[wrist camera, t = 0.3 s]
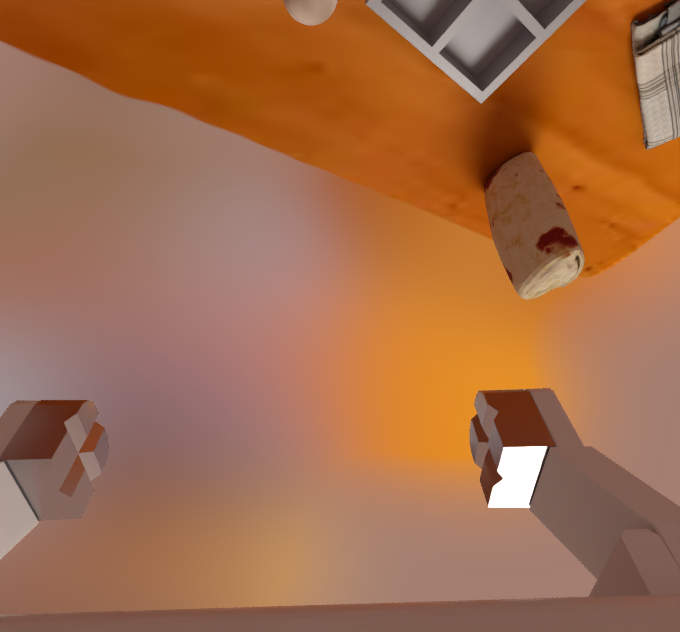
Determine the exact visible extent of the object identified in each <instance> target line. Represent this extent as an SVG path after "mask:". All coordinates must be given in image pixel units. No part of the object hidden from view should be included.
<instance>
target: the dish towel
mask: <svg viewBox="0 0 680 632" xmlns="http://www.w3.org/2000/svg"><path fill="white" fill-rule="evenodd" d="M664 7H668V9H667V10H665V11H662V12H661V13H659V14H656V15H654V16H652V15H653V14H650V15H649V16H648V17H650V16H652V17H650V18H649V19H647V20H645V21H644V22H642V23H640V24H639V22H638V20H636V21H634V22H632V23H631V32H632V47H633V54H634V61H635V69H636V76H637V83H638V88H639V94H640V107H641V114H642V117H641V118H642V124H643V131H644V134H643V135H644V140H643V141H644V144H645V148H646V149H651V148H654V147H656V146H659V145H661V144H663V143H666V142H668V141H670V140H673V139H675V138H678V137H680V0H672V1H670V2H668V3H667V4H665V5H664Z"/></svg>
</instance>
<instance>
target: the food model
mask: <svg viewBox="0 0 680 632" xmlns="http://www.w3.org/2000/svg"><path fill="white" fill-rule="evenodd" d="M484 193H485V203H486V208H487V213H488V218H489V223H490V228H491V232H492V236H493V240H494V243H495V246H496V249H497V251H498V254H499V256H500V259H501V261H502V263H503V265H504V267H505V269H506V272H507V274H508V276H509V278H510V280H511V282H512V284H513V286H514V288H515V290H516V292H517V293H518V295H519V296H520V297H522V298H524V299H533V298H536V297H539V296H541V295H542V294H544V293H546V292H548V291H550V290H552V289H554V288H556V287H564V286H566V285H568V284H569V283H570V282H572V281H573V280H575V279H576V278H577V276H578V275H579V273H580V272H581V270H582V268H583V265H584V259H585V258H584V253H583V250H582V247H581V244H580V242H579V239H578V237H577V234H576V232H575V229H574V227H573V224H572V222H571V219H570V217H569V215H568V212H567V210H566V208H565V206H564V204H563V202H562V200H561V198H560V196H559V195H558V193H557V191H556V189H555V187H554V185H553V183H552V181H551V179H550V178H549V176H548V175H547V173H546V172H545V170H544V169H543V167H542V165H541V163H540V161H539V159H538V158H537V156H536V155H535V154H534V153H532V152H525V153H522V154H520V155H518V156H516V157H514V158H512V159H511V160H509V161H507V162H506V163H504V164H503V165H502V166H500V167H499V168H498V169H497V170H496V171H495V172H494V173H493V175H492V176H491V177H490V178H489V179H488V181H487V183H486V185H485V191H484Z"/></svg>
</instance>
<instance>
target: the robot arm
mask: <svg viewBox="0 0 680 632" xmlns="http://www.w3.org/2000/svg"><path fill="white" fill-rule="evenodd" d="M474 405H475V407H476V411H477V415H476V416H475V417H473V418H472V419H471V425H470V447H471V452H472V456H473V459H474V462H475V463H476V464H477V465H478V466H479V467H480V468H482V472H481V477H480V482H481V486H482V489H483V492H484V495H485V498H486V501H487V504H488V507H530V508H529V510H530V511H531V512H532V513H533V514H534V515H535V516H537V518H538V519H539V520H540V521H541V522H542V523H543V524H544V525H545V526H546V527H547V528H548V529H549V530H550V531H551V532H552V533H553V534H554V535H555V536H556V537H557V538H558V539H559V540H560V542H562V543H563V544H564V546H565V547H566V548H567V549H568V550H570V552H571V553H572V554H573V555H574V556H575V557H576V558H577V559H578V560H579V561H580V562H581V563H582V564H583V565H584V566H585V567H586V568H587V569H588V570H589V571H590V572H591V573H592V574H593V576H594V577H595V578H596V579H597V582H596V583H595V585H594V587H593V589H592V591H591V593H590V595H589V597H566V598H534V599H501V600H469V601H437V602H436V601H435V602H404V603H372V604H339V605H306V606H276V607H275V606H273V607H244V608H243V607H242V608H211V609H210V608H209V609H178V610H144V611H112V612H79V613H46V614H12V615H0V632H680V507H679V506H678V505H676V504H675V503H673V502H672V501H671V500H669V499H668V498H666V497H665V496H663V495H661V494H660V493H659V492H657V491H656V490H654V489H653V488H651V487H650V486H649V485H647V484H646V483H644V482H643V481H641V480H640V479H638V478H637V477H635V476H634V475H632V474H631V473H629V472H628V471H627V470H625V469H624V468H622V467H621V466H619V465H618V464H616V463H615V462H613V461H612V460H611V459H609V458H608V457H606V456H605V455H603V454H602V453H600V452H599V451H597V450H596V449H594V448H593V447H584V445H583V443H582V442H581V440H580V438H579V436H578V435H577V433H576V431H575V429H574V428H573V426H572V424H571V422H570V420H569V418H568V416H567V415H566V413H565V411H564V409H563V407H562V406H561V404H560V402H559V400H558V399H557V397H556V395H555V393H554V391H552V390H551V389H549V388H542V389H525V390H523V389H519V390H489V391H478V393H477V395H476V399H475V404H474ZM98 414H99V413H98V411H97V408H96V406H95V404H94V402H92V401H89V400H41V401H16V402H14V403H12V404H11V405H10V406H9V407H8V408H7V409H6V411H5V412H4V414H3V415H2V416H1V418H0V559H1V558H2V557H3V556H5V554H7V552H9V551H10V550H11V549H12V548H13V547H14V546H15V545H16V544H17V543H18V542H19V541H20V540H21V539H22V538H24V537H25V536H26V535H27V534H28V533H29V532H30V531H31V530H32V529H33V528H34V527H35V526H36V525H37V524H38V523H39V521H40V520H58V519H77V518H82V516H83V513H84V511H85V509H86V507H87V504H88V502H89V500H90V498H91V495H92V493H93V491H94V489H93V486H92V484H91V480H92V479H94V478H95V477H96V476H98V475H99V474H100V473H101V472H102V471H103V468H104V466H105V463H106V461H107V455H108V448H109V444H108V436H107V434H106V431H105V428H104V427H102V426H101V425H99V424H98V423H97V422H95V420H96V418H97V416H98Z"/></svg>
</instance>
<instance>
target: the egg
mask: <svg viewBox="0 0 680 632" xmlns="http://www.w3.org/2000/svg"><path fill="white" fill-rule="evenodd" d="M284 4H285V6H286V8H287V10H288V12H289V14H290V15H291V16H292V17H293V18H294V19H295V20H296V21H298V22H300V23H302V24H304V25H318V24H321V23H322V22H324V21H326V20H327V19H328V18H329V17H330V16H331V14H332V13H333V11H334V9H335V7H336V4H337V0H284Z"/></svg>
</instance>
